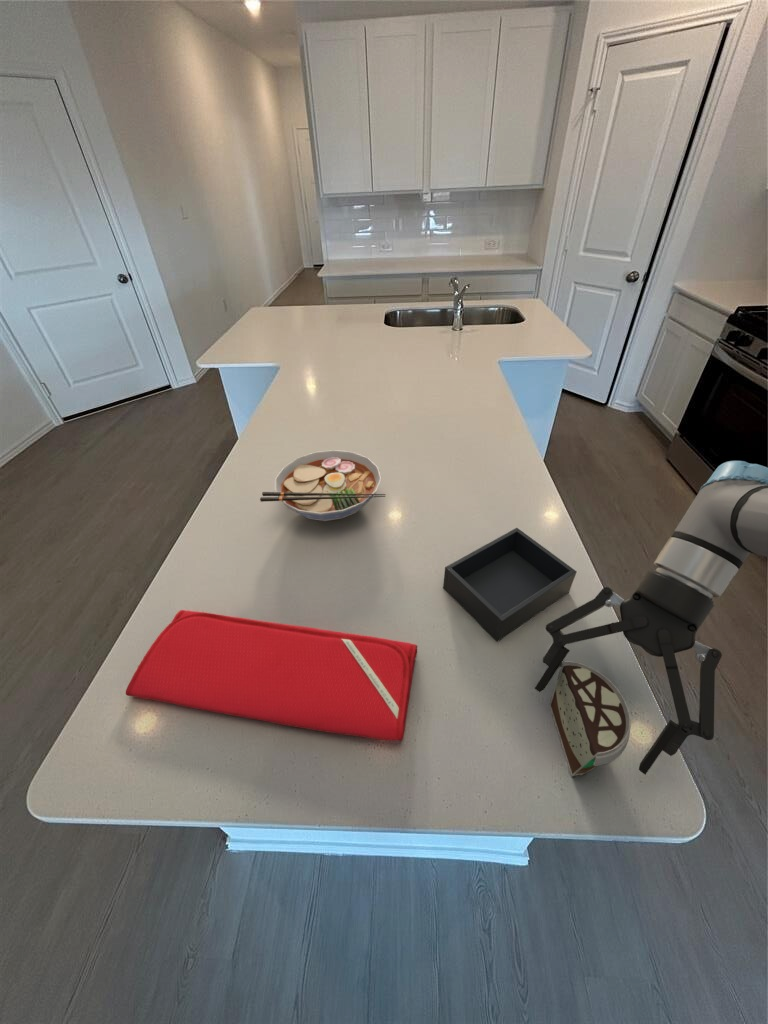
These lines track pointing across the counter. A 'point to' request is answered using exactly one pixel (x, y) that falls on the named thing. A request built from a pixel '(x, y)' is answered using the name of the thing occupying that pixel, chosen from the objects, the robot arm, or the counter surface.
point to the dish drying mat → (280, 674)
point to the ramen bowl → (326, 484)
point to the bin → (508, 582)
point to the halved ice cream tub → (589, 717)
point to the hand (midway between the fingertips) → (587, 726)
